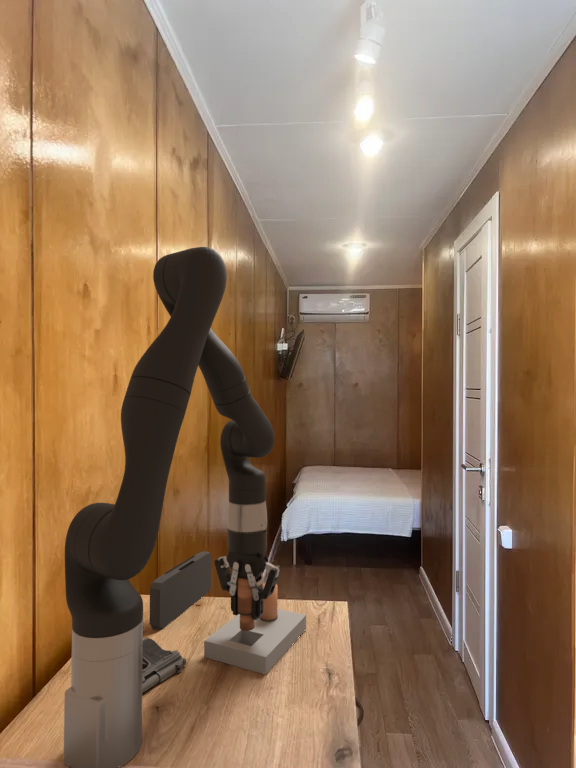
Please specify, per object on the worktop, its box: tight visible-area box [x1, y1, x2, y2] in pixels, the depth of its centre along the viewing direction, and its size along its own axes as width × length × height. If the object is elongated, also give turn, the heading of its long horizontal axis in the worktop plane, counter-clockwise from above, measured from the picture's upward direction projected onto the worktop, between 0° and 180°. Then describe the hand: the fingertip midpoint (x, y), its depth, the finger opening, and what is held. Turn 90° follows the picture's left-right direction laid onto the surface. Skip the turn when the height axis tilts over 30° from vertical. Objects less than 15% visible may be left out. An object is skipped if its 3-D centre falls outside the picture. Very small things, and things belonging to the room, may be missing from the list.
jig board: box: [203, 582, 307, 676], centre depth 95 cm, size 18×13×10 cm
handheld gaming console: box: [149, 551, 212, 630], centre depth 110 cm, size 23×3×10 cm, turn 161°
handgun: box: [142, 637, 187, 694], centre depth 83 cm, size 2×17×12 cm
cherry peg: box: [237, 578, 257, 631], centre depth 91 cm, size 4×4×10 cm
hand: (247, 615), depth 91 cm, fingers closed on cherry peg, 3 cm apart
